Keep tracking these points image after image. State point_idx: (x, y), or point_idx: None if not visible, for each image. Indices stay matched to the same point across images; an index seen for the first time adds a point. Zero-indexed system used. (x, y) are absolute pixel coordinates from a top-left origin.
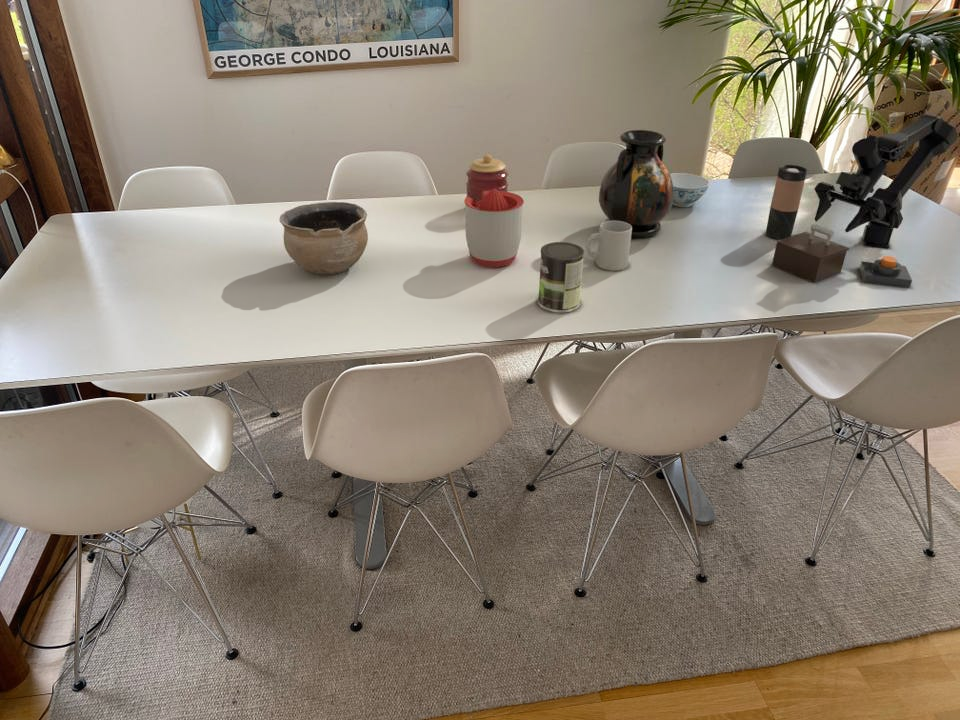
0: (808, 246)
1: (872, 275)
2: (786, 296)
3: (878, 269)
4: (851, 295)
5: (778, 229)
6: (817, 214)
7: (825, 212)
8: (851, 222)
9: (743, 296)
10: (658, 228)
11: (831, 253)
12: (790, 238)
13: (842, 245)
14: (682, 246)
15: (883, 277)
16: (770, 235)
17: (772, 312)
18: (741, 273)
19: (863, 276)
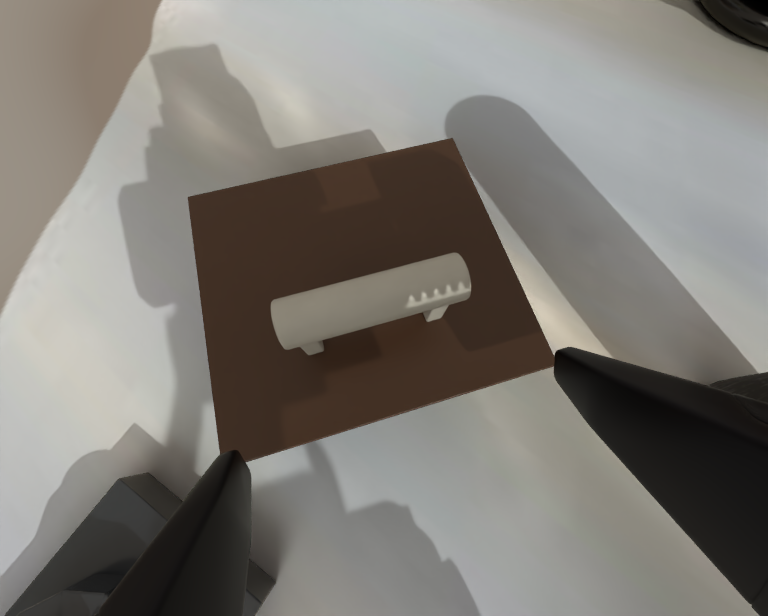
0: (340, 232)
1: (94, 511)
2: (209, 129)
3: (80, 581)
4: (95, 327)
5: (746, 391)
6: (609, 368)
7: (688, 534)
8: (178, 539)
9: (264, 39)
10: (751, 14)
11: (206, 287)
12: (467, 211)
13: (272, 447)
14: (630, 58)
15: (49, 565)
16: (727, 380)
17: (153, 51)
18: (399, 103)
19: (165, 498)
